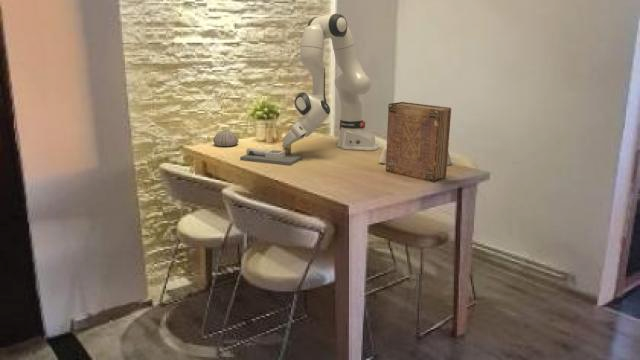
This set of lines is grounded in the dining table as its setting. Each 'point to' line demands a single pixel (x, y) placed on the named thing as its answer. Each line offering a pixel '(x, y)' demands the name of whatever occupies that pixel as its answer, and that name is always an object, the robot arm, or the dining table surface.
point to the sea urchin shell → (225, 138)
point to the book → (418, 140)
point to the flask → (449, 160)
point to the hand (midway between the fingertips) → (285, 145)
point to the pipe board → (270, 156)
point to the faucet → (383, 155)
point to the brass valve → (287, 149)
